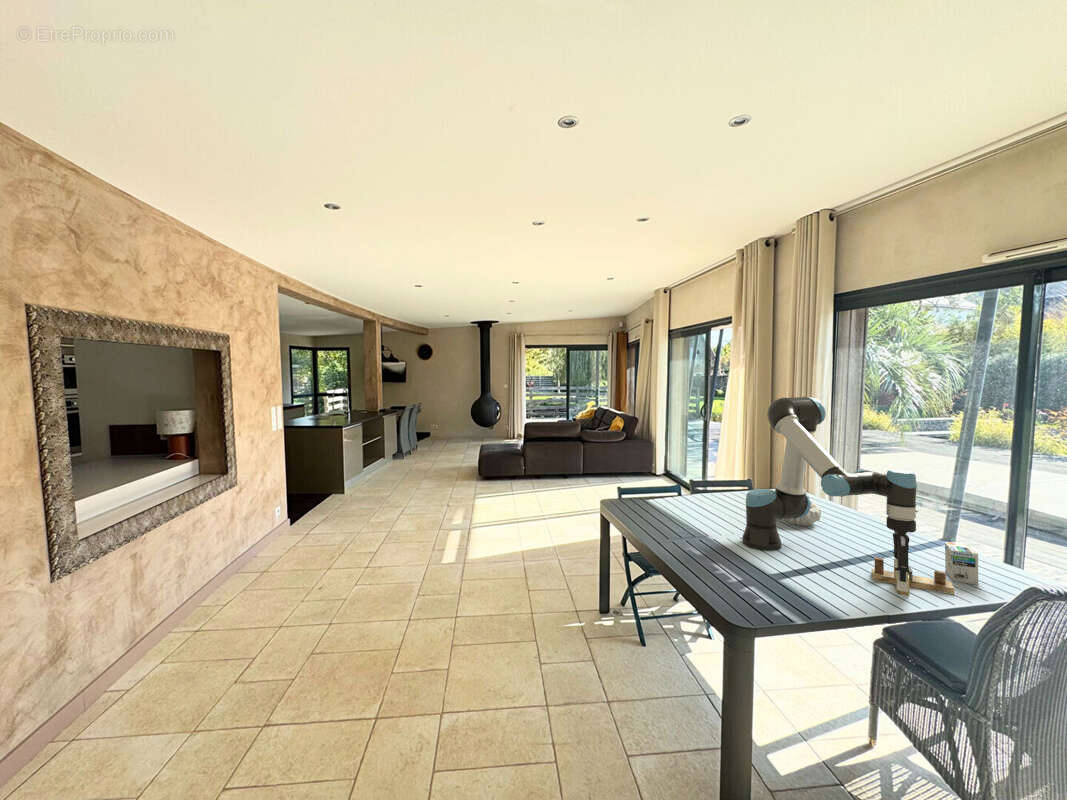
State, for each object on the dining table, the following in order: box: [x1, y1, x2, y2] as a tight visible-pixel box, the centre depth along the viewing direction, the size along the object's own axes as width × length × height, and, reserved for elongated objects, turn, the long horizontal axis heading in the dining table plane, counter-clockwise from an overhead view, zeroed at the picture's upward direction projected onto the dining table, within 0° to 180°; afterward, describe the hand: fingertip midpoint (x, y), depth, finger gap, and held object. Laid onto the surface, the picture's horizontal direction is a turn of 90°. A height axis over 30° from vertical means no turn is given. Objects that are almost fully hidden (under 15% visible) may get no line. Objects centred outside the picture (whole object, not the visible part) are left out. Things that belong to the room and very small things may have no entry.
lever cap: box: [894, 570, 910, 597], centre depth 147 cm, size 3×7×7 cm, turn 145°
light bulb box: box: [944, 541, 979, 586], centre depth 155 cm, size 11×7×11 cm, turn 148°
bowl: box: [783, 502, 822, 526], centre depth 220 cm, size 21×20×10 cm
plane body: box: [871, 556, 955, 595], centre depth 152 cm, size 21×6×7 cm, turn 55°
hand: (900, 584), depth 146 cm, fingers open, 10 cm apart
